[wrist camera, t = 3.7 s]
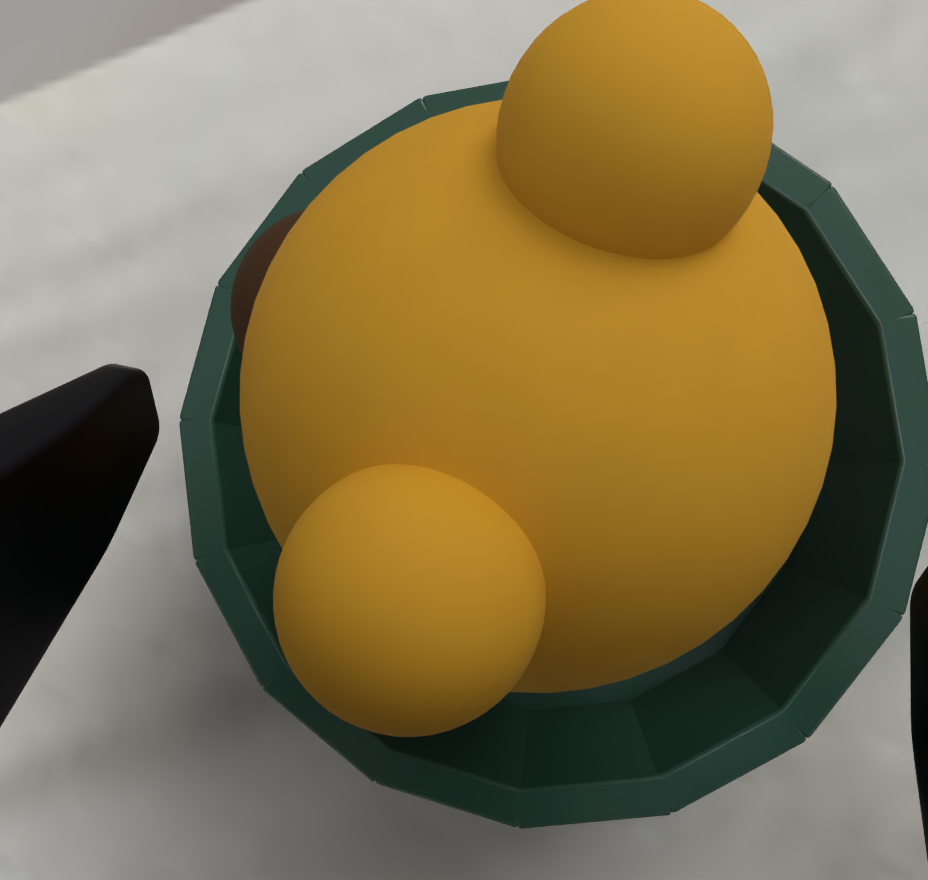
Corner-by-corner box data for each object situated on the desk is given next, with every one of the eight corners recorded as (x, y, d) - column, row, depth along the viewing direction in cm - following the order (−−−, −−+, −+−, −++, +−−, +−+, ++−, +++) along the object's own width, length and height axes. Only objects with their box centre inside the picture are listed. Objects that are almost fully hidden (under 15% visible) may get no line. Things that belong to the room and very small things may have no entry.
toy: (709, 395, 17) (1231, 86, 4) (602, 616, 17) (763, 1054, 4) (476, 289, 18) (249, -289, 5) (373, 501, 18) (-156, 545, 5)
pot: (445, 831, 18) (404, 961, 13) (189, 360, 19) (63, 316, 14) (941, 557, 17) (1096, 585, 12) (641, 85, 18) (674, -63, 13)
